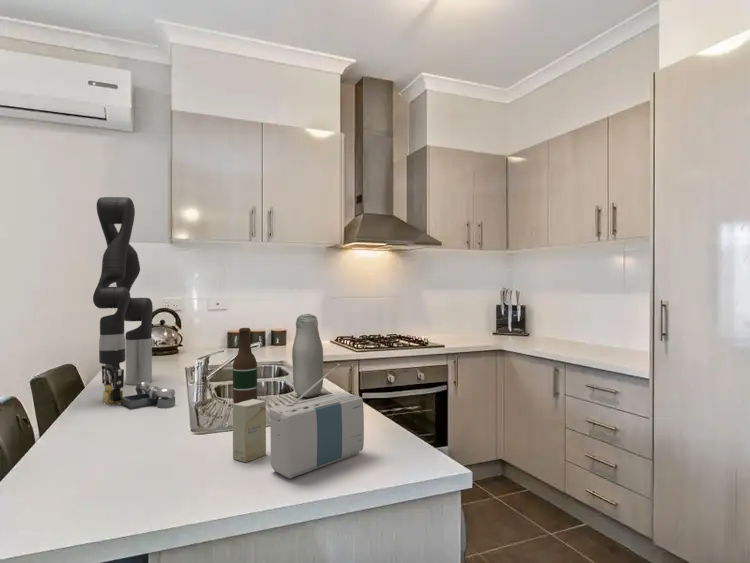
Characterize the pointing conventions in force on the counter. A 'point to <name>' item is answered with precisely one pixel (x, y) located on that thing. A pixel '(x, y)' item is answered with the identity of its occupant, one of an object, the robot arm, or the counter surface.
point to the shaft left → (143, 387)
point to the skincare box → (249, 430)
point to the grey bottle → (307, 356)
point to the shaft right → (162, 396)
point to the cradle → (137, 401)
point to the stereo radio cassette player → (315, 432)
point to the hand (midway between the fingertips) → (112, 399)
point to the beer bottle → (244, 370)
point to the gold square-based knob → (110, 395)
